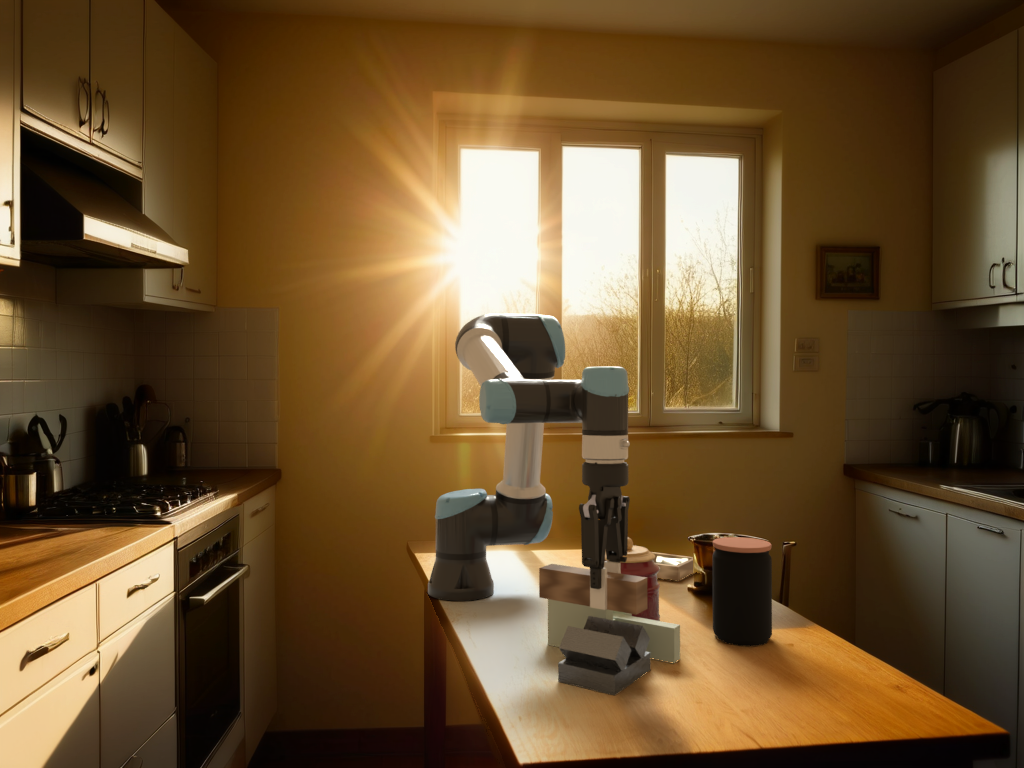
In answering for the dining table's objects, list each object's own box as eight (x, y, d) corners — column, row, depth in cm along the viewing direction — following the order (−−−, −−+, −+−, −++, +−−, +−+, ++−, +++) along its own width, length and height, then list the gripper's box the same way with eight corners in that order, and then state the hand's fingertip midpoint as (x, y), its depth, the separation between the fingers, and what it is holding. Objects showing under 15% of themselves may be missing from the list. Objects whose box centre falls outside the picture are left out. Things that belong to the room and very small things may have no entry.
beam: (547, 644, 143) (547, 592, 143) (575, 630, 151) (575, 581, 151) (665, 670, 130) (665, 612, 130) (688, 653, 138) (688, 599, 138)
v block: (558, 681, 124) (558, 630, 125) (597, 658, 135) (597, 611, 135) (614, 695, 119) (614, 641, 119) (650, 670, 130) (650, 621, 130)
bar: (539, 597, 132) (539, 567, 132) (551, 592, 135) (551, 563, 135) (636, 614, 122) (636, 582, 122) (647, 608, 125) (647, 577, 125)
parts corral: (626, 573, 198) (626, 560, 198) (647, 564, 209) (647, 551, 209) (678, 581, 190) (678, 567, 190) (697, 571, 201) (697, 557, 201)
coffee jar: (772, 632, 150) (771, 538, 150) (771, 650, 140) (771, 549, 140) (715, 627, 153) (714, 535, 154) (710, 643, 143) (710, 545, 143)
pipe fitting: (686, 579, 195) (689, 571, 202) (685, 564, 195) (688, 556, 201) (653, 576, 198) (657, 569, 204) (653, 561, 198) (657, 554, 204)
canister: (618, 641, 145) (618, 546, 145) (580, 622, 156) (580, 534, 156) (673, 631, 151) (673, 540, 151) (633, 614, 162) (633, 529, 162)
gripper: (600, 466, 118) (601, 621, 118) (648, 458, 132) (648, 596, 132) (558, 463, 122) (558, 613, 122) (608, 456, 137) (609, 590, 136)
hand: (605, 604), depth 127 cm, fingers closed on bar, 4 cm apart
